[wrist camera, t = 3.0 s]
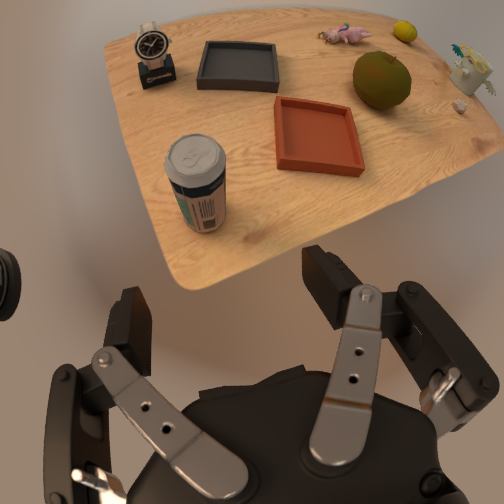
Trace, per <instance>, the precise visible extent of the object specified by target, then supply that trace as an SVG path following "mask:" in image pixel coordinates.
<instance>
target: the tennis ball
mask: <svg viewBox="0 0 504 504" xmlns="http://www.w3.org/2000/svg"><path fill="white" fill-rule="evenodd" d="M394 33H395V35H396V36H397V37H398V38H399V39H400V40H402V41H405V42H412V41H414V40H415V39H416V37H417V30H416V28H415V27H414V26H413V25H412V24H410V23H409V22H407V21H398V22H397V23H396V24H395V25H394Z"/></svg>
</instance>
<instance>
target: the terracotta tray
mask: <svg viewBox="0 0 504 504" xmlns="http://www.w3.org/2000/svg"><path fill="white" fill-rule="evenodd" d="M274 118H275V136H276V155H277V169H287V170H299V171H310V172H319V173H328V174H337V175H345V176H352V177H359V176H360V175H361V174H362V173H363V171H364V170H365V165H364V160H363V156H362V151H361V147H360V143H359V139H358V135H357V131H356V127H355V124H354V120H353V116H352V113H351V109H350V108H349V107H345V106H340V105H335V104H329V103H324V102H318V101H311V100H305V99H297V98H289V97H280V96H276V99H275V104H274Z"/></svg>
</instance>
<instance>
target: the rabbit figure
mask: <svg viewBox="0 0 504 504" xmlns="http://www.w3.org/2000/svg"><path fill="white" fill-rule="evenodd" d="M340 31H341V33H340ZM321 34H323V37H324V39H325V41H324V42H325V44H327V40H328V41H329V43H331V44H335V43H336V42H337V41H338V40H345V43H348V42H351V43H356V42H358V41H359V40H360V39H362V38H367V37H370V36H373V35H372V34H370V33H369V32H368V31H367V30H365V29H364V28H361V27H355V28H353V27H349V25H348V23H344V25H343V26H341V27H339V28H338V29H337V30H333V29H329V31H327V32H321V33H320V34H318V35H317V37H318V38H320V35H321ZM318 38H317V39H318Z"/></svg>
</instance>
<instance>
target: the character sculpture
mask: <svg viewBox="0 0 504 504" xmlns="http://www.w3.org/2000/svg"><path fill="white" fill-rule="evenodd" d="M452 46H453V47H454V48H453V50H454V51H455V53H457V56H459V55H460V56H461V57H462V60H461V61H460V62H457V61H456V62H455V64H456V65H457V66H456V67H455V69H454V70H453V71H452V72H451V74H450V75H449V76H450V78H451V80H452V81H453V83H454V84H455V85H456V86H457V87H458V88H459V89H460V90H461V91H462V92H463V93H465V94H466V95H468V96H471V95H472V94H473V93H474V92H475V91H476V90H477V89H478V88H479V86H480V85H481V84H482V83H484V84H485V85H486V87H487V88H486V89H488V90H489V92H490V93H491V94H493V93H494V94H495V96H496V91H495V88H494V86H493V84H492V83H491V82H490V81H487V80H486V79H487V78H488V76H489V75H490V74H491V73H492V72H493V68H492V66H491V65H490V64H489V63H488V62H487V61H486V59H485V58H484V57H483V56H482V55H480V54H479V53H478V52H477V51H476V50H474V49H473V48H470V49H469V48H468V47H466V46H464V45H461V46H460V47H459V46H457V45H454V44H453V45H452ZM462 47H465V48H466V49H468V52H467V53H466V54H465V53H464V52H463V51H462ZM463 54H464V55H465V56H464V55H463Z"/></svg>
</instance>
